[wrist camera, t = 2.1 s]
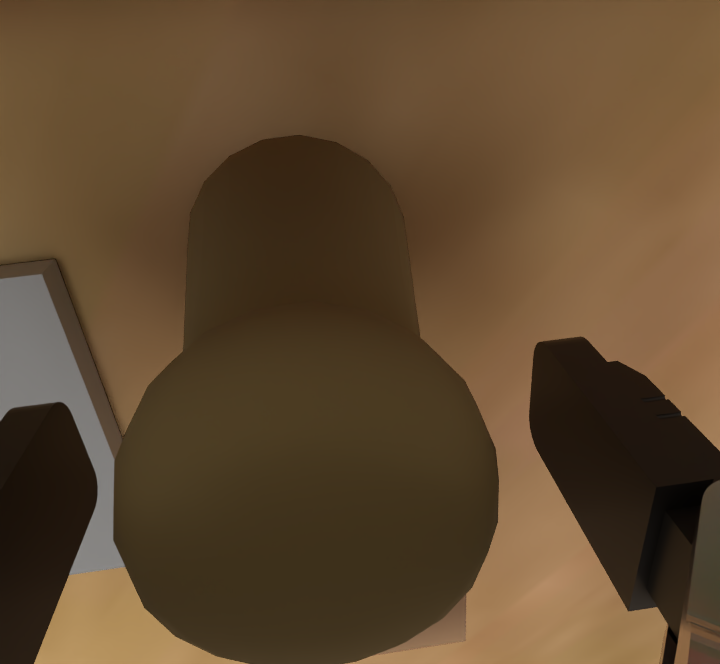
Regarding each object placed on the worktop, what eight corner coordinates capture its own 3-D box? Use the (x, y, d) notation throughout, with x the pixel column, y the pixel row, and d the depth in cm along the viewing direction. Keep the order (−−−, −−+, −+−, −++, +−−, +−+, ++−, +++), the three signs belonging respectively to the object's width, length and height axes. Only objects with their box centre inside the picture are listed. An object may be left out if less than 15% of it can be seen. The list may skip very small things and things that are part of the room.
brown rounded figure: (396, 340, 18) (518, 716, 9) (196, 341, 17) (86, 755, 8) (416, 139, 15) (637, 371, 6) (176, 131, 14) (-42, 380, 5)
